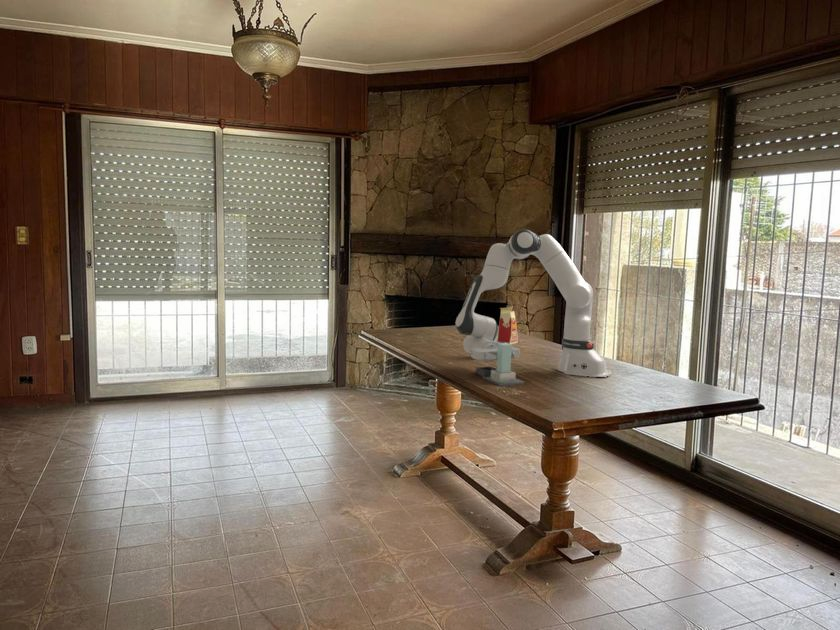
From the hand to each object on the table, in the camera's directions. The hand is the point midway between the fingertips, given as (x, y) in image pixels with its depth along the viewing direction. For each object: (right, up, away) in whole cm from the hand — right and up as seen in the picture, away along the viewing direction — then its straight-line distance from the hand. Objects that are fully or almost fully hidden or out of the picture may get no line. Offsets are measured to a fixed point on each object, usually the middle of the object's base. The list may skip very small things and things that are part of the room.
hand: (505, 357), depth 252 cm
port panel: (-1, -10, +2) cm, 10 cm away
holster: (-6, -8, +13) cm, 16 cm away
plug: (-1, -9, +2) cm, 9 cm away
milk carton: (+13, +2, +92) cm, 93 cm away
